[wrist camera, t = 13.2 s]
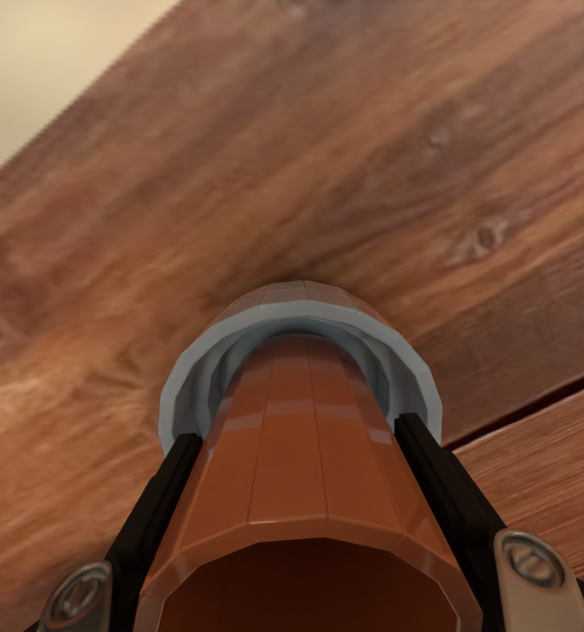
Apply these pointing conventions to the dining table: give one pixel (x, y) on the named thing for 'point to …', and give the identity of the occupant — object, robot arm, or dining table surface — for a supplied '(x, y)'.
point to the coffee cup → (304, 513)
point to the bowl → (284, 318)
